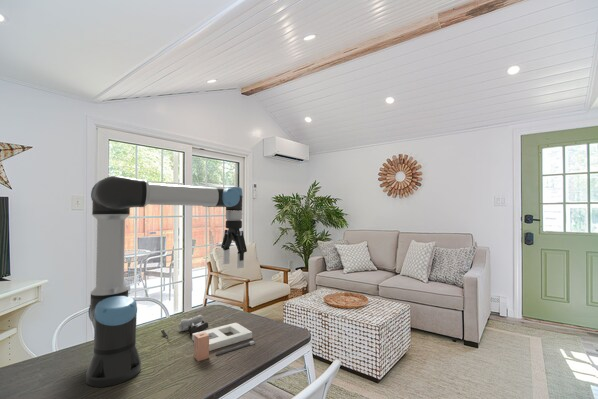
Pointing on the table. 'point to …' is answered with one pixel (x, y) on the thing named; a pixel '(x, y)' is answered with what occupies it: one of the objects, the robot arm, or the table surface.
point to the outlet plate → (220, 339)
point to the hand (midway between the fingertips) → (233, 265)
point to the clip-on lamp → (186, 324)
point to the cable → (236, 347)
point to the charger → (201, 346)
